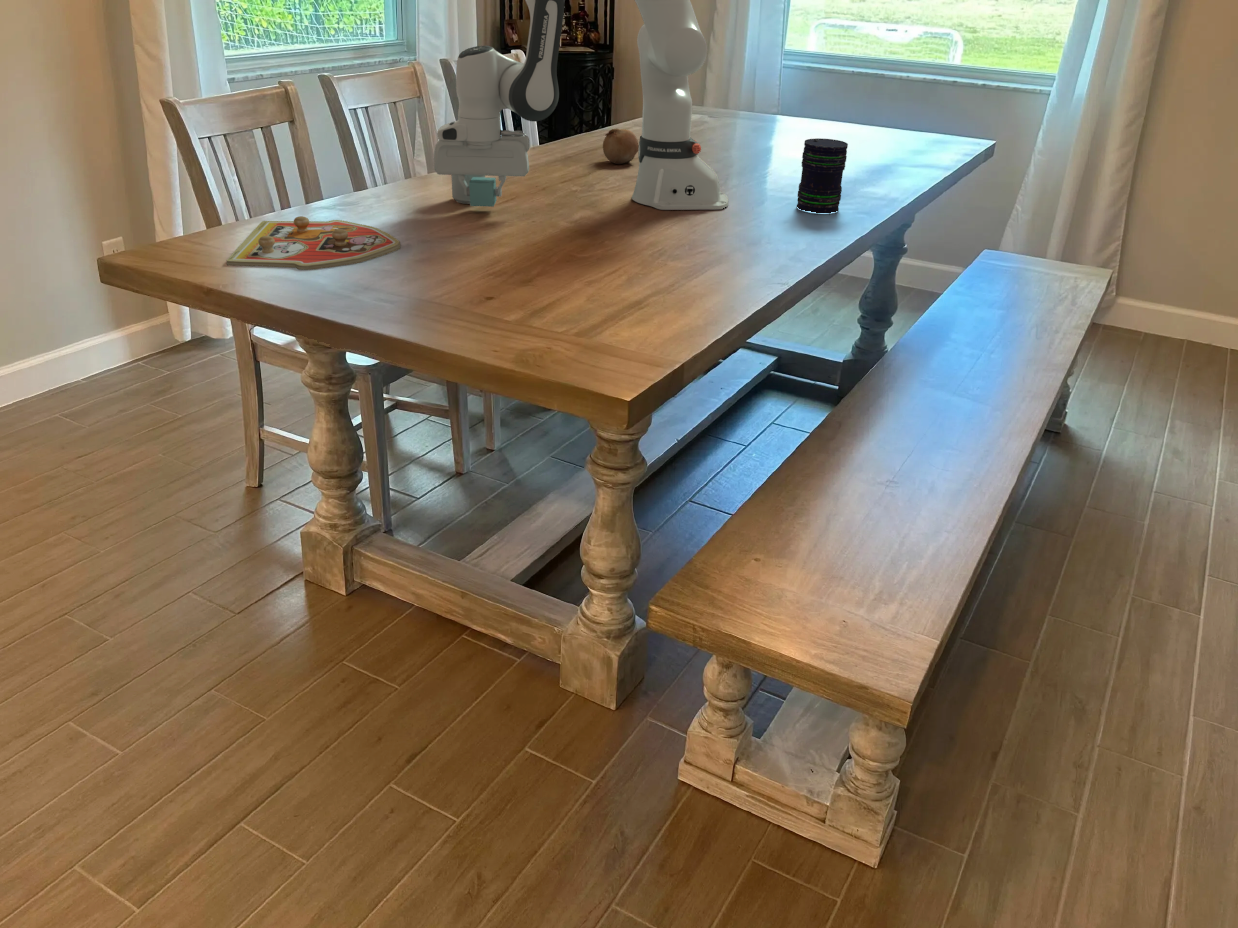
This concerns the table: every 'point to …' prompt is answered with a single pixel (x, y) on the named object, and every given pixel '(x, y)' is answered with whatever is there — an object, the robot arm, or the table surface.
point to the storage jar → (822, 175)
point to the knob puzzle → (312, 244)
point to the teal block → (482, 191)
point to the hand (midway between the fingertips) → (483, 195)
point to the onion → (620, 146)
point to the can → (461, 188)
